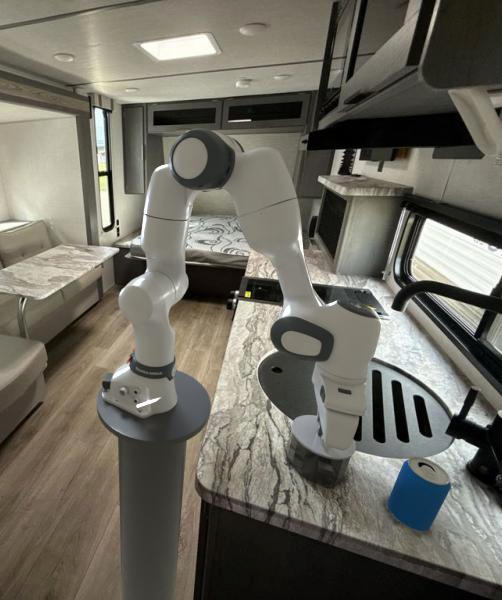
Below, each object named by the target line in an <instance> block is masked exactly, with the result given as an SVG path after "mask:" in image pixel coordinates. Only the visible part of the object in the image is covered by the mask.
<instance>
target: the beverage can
mask: <svg viewBox="0 0 502 600" xmlns="http://www.w3.org/2000/svg"><path fill="white" fill-rule="evenodd" d="M451 488H452V486H451V477H450V475H449V473H448V472H447V471H446V469H444V468H443V467H442V466H441V465H439V464H437V463H436V462H435V461H432V460H431V459H428V458H425V457H423V456H415V455H414V456H411V457H409V458H408V459H406V460H405V461H403V463H402V466H401V467H400V470H399V473H398V475H397V477H396V479H395V482H394V485H393V486H392V489H391V491H390V494H389V496H388V499H387V502H386V504H387V508H388V511H389V512H390V514H391V515H392V516H393V517H394V518H395V519H396V520H397V521H398V522H399V523H401V524H402V525H404V526H405V527H407V528H409V529H411V530H414V531H417V532H428V531H429V530H430V529H431V528H432V525H433V524H434V522H435V520H436V518H437V516H438V514H439V512H440V510H441V508H442V507H443V504H444V502H445V500H446V499H447V496H448V494H449V493H450V491H451Z"/></svg>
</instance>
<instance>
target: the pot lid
mask: <svg viewBox="0 0 502 600" xmlns="http://www.w3.org/2000/svg"><path fill="white" fill-rule="evenodd" d="M316 417H317V416H315V415H311V414H304V415H300V416H297V417H296V418H295V419H293V421H292V423H291V430H292V432H293V434H294V436H295V438H296V439H297V440H298V441H299V442H300V443H301V444H302V445H303V446H304V447H305V448H307V449H308V450H310V451H311V452H313V453H315V454H317V455H320V456H322V457H325V458H329V459H335V460H343V459H347V458H350V457H351V458H352V456H354V454H355V453H356V450H357V444H356V442H355V439H354V438H353V440H352V442H351V444H350V446H349V448H348V449H346V450H339V449H335V448H332V447H330V448H326V447H323V446H321V441H320V439H321V435H323V433H322V428H321V422H320V421H319V423H318V422H317V418H316ZM351 458H350V459H351Z"/></svg>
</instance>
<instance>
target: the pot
mask: <svg viewBox="0 0 502 600" xmlns="http://www.w3.org/2000/svg"><path fill="white" fill-rule="evenodd" d="M310 415H315V416H317V413H315V412H310ZM286 457H287V460H288V462H289V463H290V465H291V467H292V468H293V469H294V470H295V471H296V472H297V473H298V474H300V475H301V476H302V477H304V478H305V479H307V480H309V481H311V482H314V483H317V484H319V485H325V486H333V485H337V484H340V483H341V482H343V480H344V478H345V476H346V473H347V470H348V467H349V464H350V461H351V459H352V456H351V457H350V458H347V459H343V460H335V459H329V458H325V457H322V456H320V455H317V454H315V453H313V452H311V451H310V450H308V449H307V448H305V447H304V446H303V445H302V444H301V443H300V442H299V441H298V440H297V439H296V438H295V436H294V434H293V432H292V429H291V430H290V434H289V438H288V444H287V447H286Z"/></svg>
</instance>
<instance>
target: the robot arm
mask: <svg viewBox="0 0 502 600" xmlns="http://www.w3.org/2000/svg"><path fill="white" fill-rule="evenodd" d="M219 190H225V191H226V192H227V193H228V194H229V195H230V197H231V199H232V201H233V204H234V208H235V212H236V216H237V220H238V224H239V227H240V230H241V233H242V235H243V237H244V239H245V241H246V243H247V245H248V247H249V248H250V249H251V250H253V251H254V252H256V253H258V254H260V255H262V256H264V257H266V258H267V259H268V260H269V261H270V263H272V265H273V267H274V270H275V273H276V276H277V280H278V282H279V285H280V289H281V292H282V295H283V296H282V297H283V304H282V309H281V311H280V313H279V315H278V316H277V317H276V319H275V320H274V322H273V324H272V325H271V328H270V331H269V337H270V342H271V343H272V345H273V346H274V348H275V349H276V350H277V352H279V353H280V354H282V355H283V356H285V357H287V358H291V359H295V360H301V361H307V362H314V363H315V365H314V367H313V371H312V375H311V382H312V385H313V390H314V395H315V401H316V405H317V413H316V414H317V417H316V418H317V422H318V423H319V421H320V422H321V428H322V433H323V435H321V439H320V441H321V446H323V447H326V448H330V447H332V448H335V449H339V450H346V449H348V448H349V446H350V444H351V442H352V440H353V439H354V438H355V434H356V432H357V429H358V426H359V421H360V417H364V416H365V414H366V412H367V401H366V393H365V392H366V388H367V384H366V383H367V379H368V376H369V371H370V369H369V366H370V365H369V364H370V362H371V360H372V359H373V358H374V357H375V355H376V351H377V348H378V344H379V341H380V336H381V330H382V320H381V318H380V315H379V314H378V313H377V312H376V310H375V309H373V308H372V307H370V306H368V305H366V303H365V304H364V303H363V302H359V301H358V300H353V299H345V298H339V299H336V300H335V301H333V302H330V303H327V304H326V302H324V300H323V299H322V298H321V297H320V296H319V295H318V294H317V292H316V290H315V288H314V286H313V283H312V279H311V276H310V271H309V267H308V264H307V261H306V257H305V253H304V245H303V229H302V218H301V211H300V210H301V209H300V203H299V199H298V198H297V197H298V195H297V192H296V188H295V185H294V182H293V179H292V176H291V174H290V171H289V169H288V166H287V164H286V162H285V160H284V158H283V155H282V154H281V153H280V152H279V151H278V150H277V149H276V148H274V147H269V146H260V147H255V148H253V149H250V150H248V151H245V149H244V148H243V146H242V144H241V143H240V142H239V141H238V140H237V139H235V138H233V137H231V136H229V135H228V134H226V133H224V132H221V131H217V130H211V129H209V128H203V127H201V128H193V129H189V130H186V131H185V132H183V133H182V134H181V135H179V136H178V137H177V138H176V139H175V141H174V142H173V143H172V146H171V149H170V152H169V155H168V163H166V164H162V165H160V166H158V167H156V168H155V169H154V171H153V172H152V174H151V176H150V180H149V183H148V187H147V191H146V195H145V201H144V206H143V207H144V208H143V215H142V225H141V232H140V233H141V234H140V243H139V244H140V248H141V250H142V251H143V252H144V255H145V260H146V270H145V272H144V273H143V274H141V275H139V276H137V277H135V278H133V279H131V280H130V281H129V282H128V283H127V284H126V285H125V286H124V287H123V288H122V289H121V291H120V292H119V295H118V301H117V302H118V308H119V310H120V312H121V314H122V316H124V318H126V320H128V321H129V322H130V323H131V325H132V327H133V328H132V329H133V333H134V348H133V349H132V352H131V353H129V357H128V358H127V359H126V363H123V364H121V366H119V367H118V368H117V369H116V370H115V372H106V374H105V376H104V378H103V380H102V382H101V387H102V386H103V388H104V389H103V392H102V399H103V400H104V401H107V402H109V403H111V404H113V405H115V406H117V407H119V408H121V409H123V410H125V411H127V412H129V413H132V414H134V415H136V416H138V417H140V418H147V417H149V416H151V415H154V414H160V413H164V412H167V411H169V410H171V409H172V408H173V407H174V406H175V405H176V403H177V400H178V397H177V394H176V390H175V383H174V375H175V369H176V368H177V367H176V366H177V363H176V362H177V361H176V355H175V350H176V349H175V348H176V331H175V329H174V328H173V326H171V324H170V323H171V322H170V318H169V314H170V310H171V308H172V307H174V305H175V304H177V303H178V302H179V301H181V300H182V299H183V297H184V295H185V294H186V292H187V290H188V288H189V277H188V274H187V273H186V248H187V241H188V236H189V229H190V224H191V223H190V222H191V217H192V210H193V205H194V202H195V199H196V197H197V196H198V195H199V194H201V192H203V193H207V192H213V191H219ZM176 370H177V369H176Z"/></svg>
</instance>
